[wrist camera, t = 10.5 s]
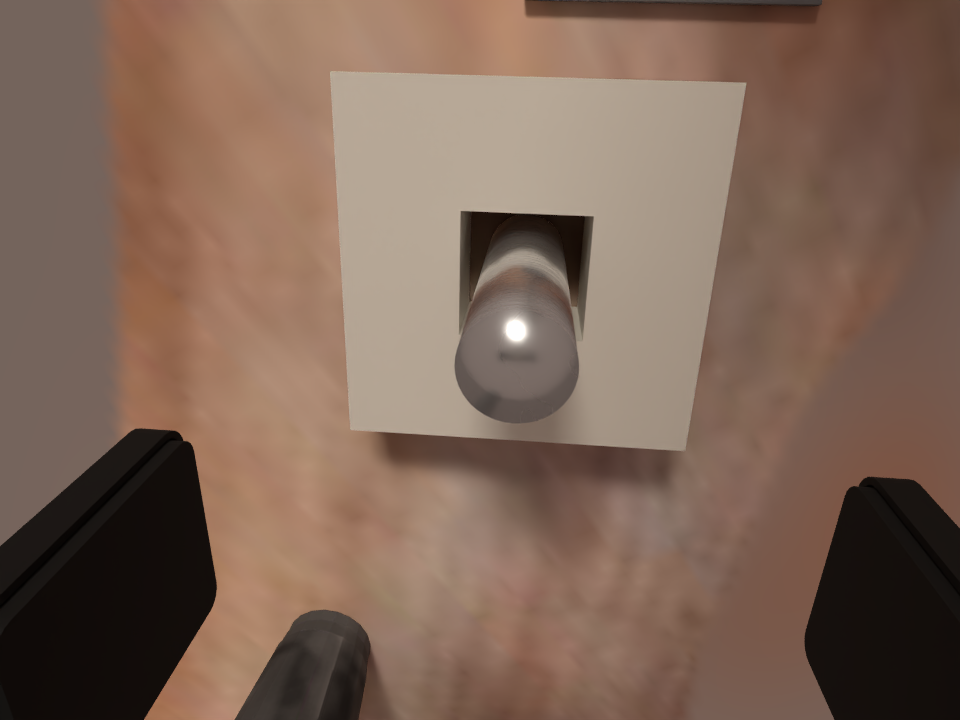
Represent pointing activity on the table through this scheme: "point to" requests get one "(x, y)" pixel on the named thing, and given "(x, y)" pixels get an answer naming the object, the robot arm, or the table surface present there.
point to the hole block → (531, 190)
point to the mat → (719, 2)
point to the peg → (520, 326)
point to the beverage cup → (313, 672)
